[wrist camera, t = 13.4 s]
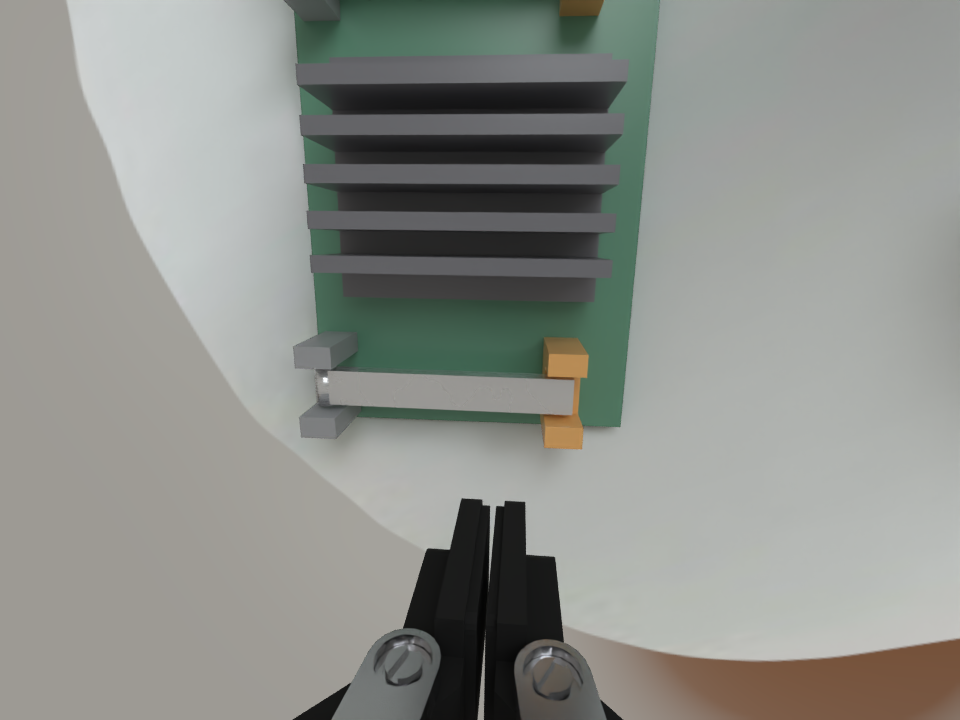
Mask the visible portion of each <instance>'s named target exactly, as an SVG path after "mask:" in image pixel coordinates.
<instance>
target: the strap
mask: <svg viewBox="0 0 960 720" xmlns="http://www.w3.org/2000/svg"><path fill="white" fill-rule="evenodd" d="M314 372H315V385H316V398H317V405H318V406H323V407H327V406H333V405H351V406H374V407H396V408H419V409H442V410H464V411H487V412H509V413H532V414H554V415H572V411H573V396H574V377H548V375H547V374H531V373H504V372H477V371H450V370H423V369H396V368H369V367H342V366H336V367H334V368H333V369H314Z"/></svg>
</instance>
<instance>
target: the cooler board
mask: <svg viewBox="0 0 960 720" xmlns="http://www.w3.org/2000/svg"><path fill="white" fill-rule="evenodd" d="M284 1H285V2H286V3H287V4H288V5H289V6H290V7H291V8H292V9H293V10H294V16H295V29H296V43H297V56H298V64H296V76H297V85H298V86H300V97H301V110H302V115H299V116H300V130H301V135H302V136H303V137H304V151H305V164H303V169H304V183H306V184H307V191H308V205H309V211H307V223H308V229H310V232H311V245H312V255H310V263H311V273H314V286H315V300H316V313H317V327H318V335H316V336H314V337H312V338H310V339H308V340H306V341H304V342H302V343H299V344H297V345H295V346H293V351H294V362H295V368H302V369H333V368H334V367H336V366H342V367H369V368H396V369H423V370H450V371H477V372H504V373H531V374H547V375H548V377H574V396H573V411H572V415H554V414H532V413H509V412H487V411H464V410H442V409H419V408H396V407H374V406H351V405H333V406H327V407H323V406H318V405H317V403H316V404H315V405H314V406H312V407H311V408H310V409H309V410H308V411H306V412H305V413H304V414H303V415H301V416H300V417H299V419H300V430H301V437H305V438H328V439H336V438H337V437H338V436H339V435H340V434H341V433H342V432H343V431H344V430H345V428H346V427H347V426H348V425H349V424H350V423H351V422H352V421H353V420H354V419H355V417H377V418H403V419H428V420H453V421H479V422H504V423H529V424H541V428H542V435H543V442H544V448H561V449H582V441H583V426H606V427H620V425H621V414H622V404H623V393H624V382H625V371H626V361H627V350H628V339H629V328H630V318H631V307H632V296H633V285H634V275H635V264H636V253H637V242H638V232H639V221H640V210H641V199H642V189H643V178H644V167H645V156H646V146H647V135H648V124H649V113H650V103H651V92H652V81H653V70H654V60H655V49H656V38H657V27H658V17H659V6H660V0H284Z"/></svg>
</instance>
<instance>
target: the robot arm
mask: <svg viewBox="0 0 960 720" xmlns="http://www.w3.org/2000/svg"><path fill="white" fill-rule="evenodd" d="M489 538H490V506H486V505H482V500H480V499H461V503H460V507H459V512H458V516H457V521H456V525H455V530H454V534H453V539H452V543H451V547H450V550H444V549H427V551H426V553H425V557H424V560H423V563H422V567H421V570H420V573H419V577H418V580H417V583H416V587H415V590H414V593H413V597H412V600H411V603H410V607H409V610H408V613H407V617H406V620H405V624H404V627H403V629H399V630H394V631H392V632H390V633H387V634H385V635H384V636H382V637H381V638H380V639H379V640H377V641H376V642H375V643H374V645H373V646H372V647H371V649H370V650H369V651H368V653H367V655H366V657H365V659H364V661H363V663H362V664H361V666H360V668H359V670H358V672H357V674H356V675H355V677H354V679H353V681H352V682H351V683H350V684H348V685H347V686H345V687H344V688H342V689H340V690H339V691H337V692H336V693H334V694H333V695H331V696H329V697H328V698H326V699H324V700H323V701H321V702H320V703H318V704H317V705H315V706H314V707H312V708H310V709H309V710H307V711H306V712H304V713H302V714H301V715H299V716H298V717H296V718H295V719H293V720H477V719H478V708H479V707H478V706H479V697H480V685H481V674H482V663H483V652H484V640H485V691H484V692H485V693H484V694H485V695H484V720H623V719H622V718H621V717H619V716H618V715H617V714H616V713H615V712H614V711H613V710H612V709H610V708H609V707H608V706H607V705H606V704H605V703H604V702H603V701H601V700H600V698H599V695H598V691H597V688H596V685H595V682H594V679H593V676H592V673H591V670H590V668H589V666H588V664H587V662H586V660H585V659H584V658H583V656H582V655H581V654H580V653H579V652H578V651H577V650H576V649H574V648H573V647H571V646H570V645H568V644H566V643H564V639H563V629H562V620H561V610H560V600H559V591H558V581H557V571H556V562H555V557H549V556H534V555H526V521H525V502H515V501H505V504H504V507H503V506H496V515H495V526H494V537H493V548H492V559H491V570H490V581H489ZM488 590H489V592H488ZM485 630H486V635H485Z"/></svg>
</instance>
